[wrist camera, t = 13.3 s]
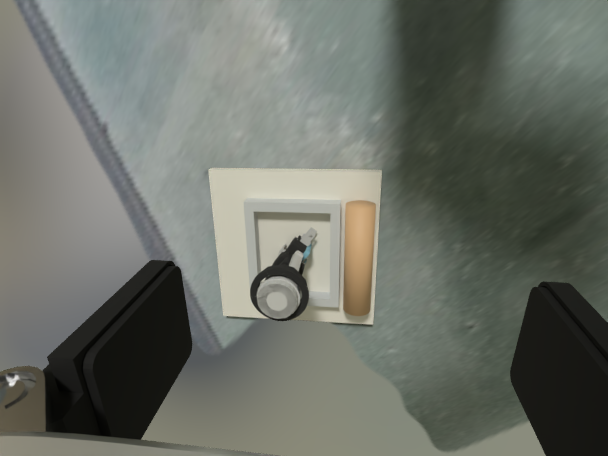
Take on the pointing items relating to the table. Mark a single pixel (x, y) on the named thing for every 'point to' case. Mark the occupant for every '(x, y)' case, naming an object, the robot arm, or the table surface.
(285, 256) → the push button
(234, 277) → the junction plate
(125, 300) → the robot arm
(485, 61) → the table surface
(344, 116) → the table surface
